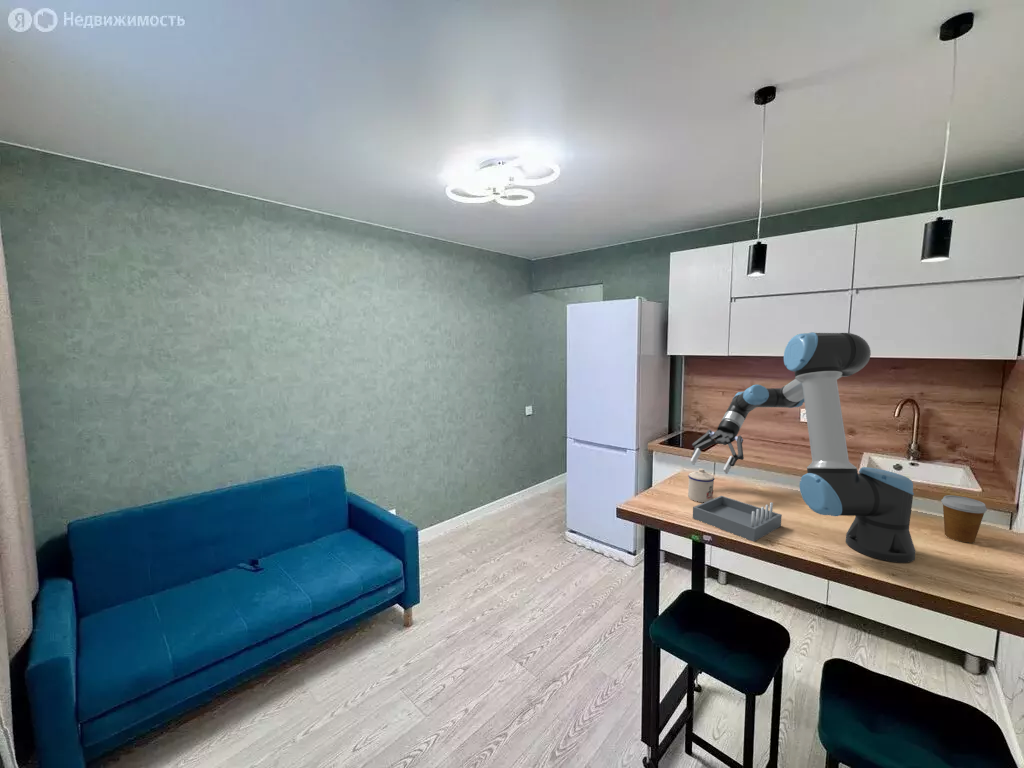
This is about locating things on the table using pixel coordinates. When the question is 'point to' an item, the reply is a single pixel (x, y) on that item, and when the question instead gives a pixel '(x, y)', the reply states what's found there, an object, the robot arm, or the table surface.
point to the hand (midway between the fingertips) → (708, 467)
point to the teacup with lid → (700, 486)
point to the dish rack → (738, 517)
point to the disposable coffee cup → (962, 517)
